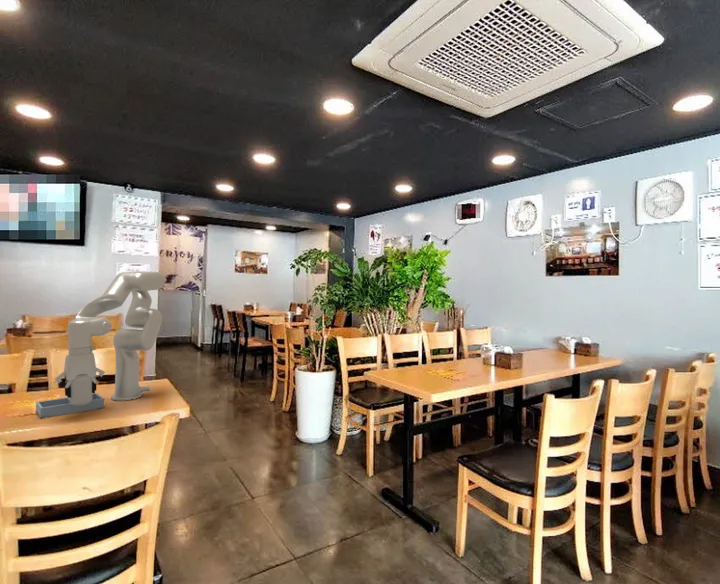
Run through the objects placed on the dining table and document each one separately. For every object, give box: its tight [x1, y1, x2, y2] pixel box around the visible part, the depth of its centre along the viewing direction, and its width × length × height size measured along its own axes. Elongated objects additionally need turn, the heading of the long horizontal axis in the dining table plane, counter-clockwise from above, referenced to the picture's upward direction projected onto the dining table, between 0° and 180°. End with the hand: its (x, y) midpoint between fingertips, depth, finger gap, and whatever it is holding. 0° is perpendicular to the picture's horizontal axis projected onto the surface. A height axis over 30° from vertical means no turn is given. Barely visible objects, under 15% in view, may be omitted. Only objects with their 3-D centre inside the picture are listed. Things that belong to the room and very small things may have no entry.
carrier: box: [35, 392, 105, 419], centre depth 169 cm, size 21×11×4 cm, turn 135°
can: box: [69, 374, 93, 406], centre depth 162 cm, size 8×8×12 cm
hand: (81, 394), depth 162 cm, fingers closed on can, 7 cm apart
